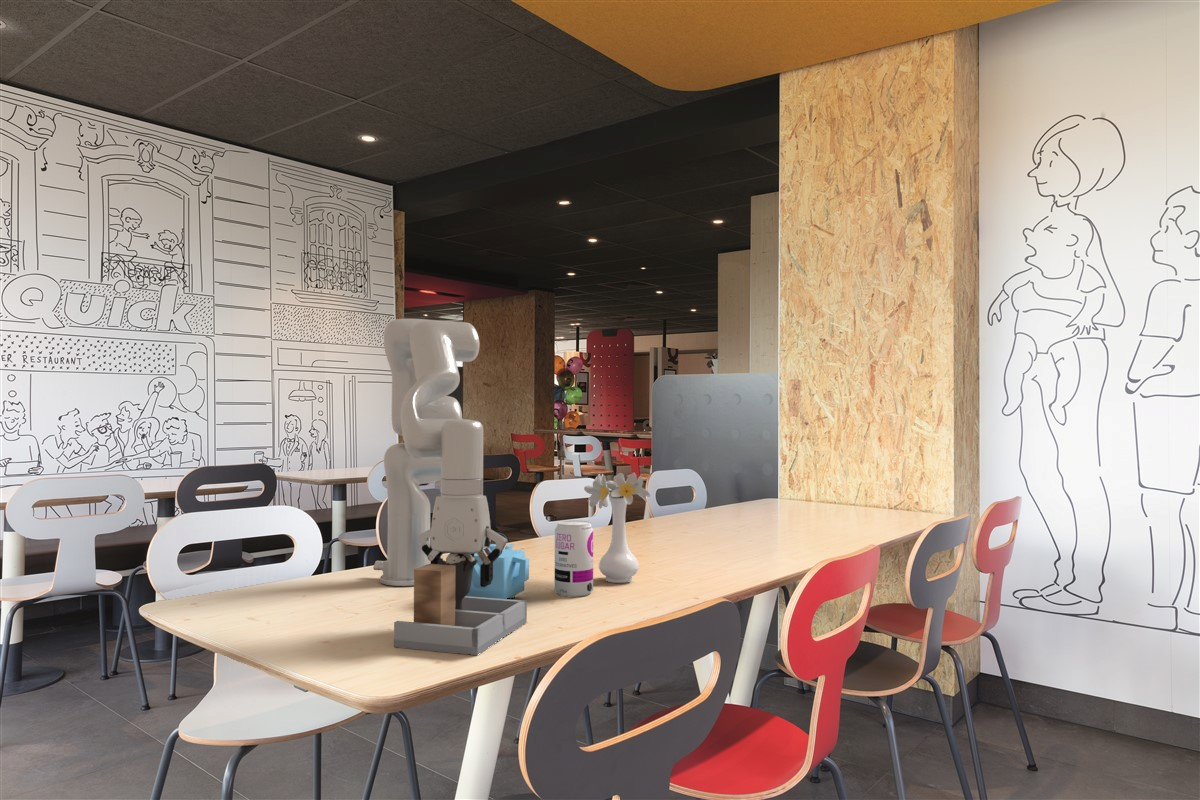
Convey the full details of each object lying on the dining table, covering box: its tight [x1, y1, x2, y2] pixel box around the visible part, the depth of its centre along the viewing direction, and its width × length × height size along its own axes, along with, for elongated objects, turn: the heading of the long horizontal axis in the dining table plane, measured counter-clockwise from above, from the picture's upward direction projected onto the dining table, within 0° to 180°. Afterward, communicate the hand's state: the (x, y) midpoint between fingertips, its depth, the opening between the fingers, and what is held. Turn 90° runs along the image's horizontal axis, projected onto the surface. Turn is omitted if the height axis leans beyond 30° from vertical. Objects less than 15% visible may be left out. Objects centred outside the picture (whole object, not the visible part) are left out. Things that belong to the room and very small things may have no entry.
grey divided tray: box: [393, 596, 528, 656], centre depth 131 cm, size 15×20×4 cm
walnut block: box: [413, 564, 456, 626], centre depth 128 cm, size 5×5×11 cm
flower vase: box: [583, 472, 651, 584], centre depth 175 cm, size 13×18×25 cm
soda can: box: [554, 520, 594, 598], centre depth 162 cm, size 8×8×15 cm
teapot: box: [466, 543, 530, 599], centre depth 157 cm, size 16×18×11 cm
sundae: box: [441, 553, 478, 610], centre depth 137 cm, size 7×7×15 cm
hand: (461, 583), depth 137 cm, fingers open, 9 cm apart
